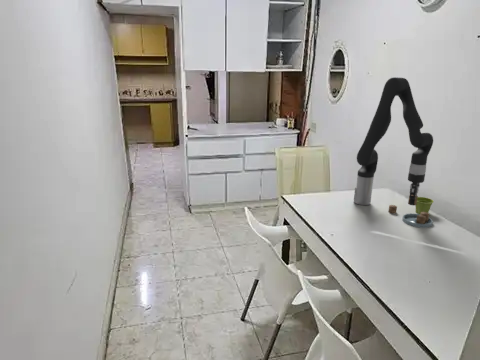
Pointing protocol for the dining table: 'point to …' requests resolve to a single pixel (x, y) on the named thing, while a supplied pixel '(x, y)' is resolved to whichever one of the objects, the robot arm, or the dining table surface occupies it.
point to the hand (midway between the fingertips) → (412, 203)
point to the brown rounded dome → (415, 200)
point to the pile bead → (392, 209)
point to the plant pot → (423, 205)
